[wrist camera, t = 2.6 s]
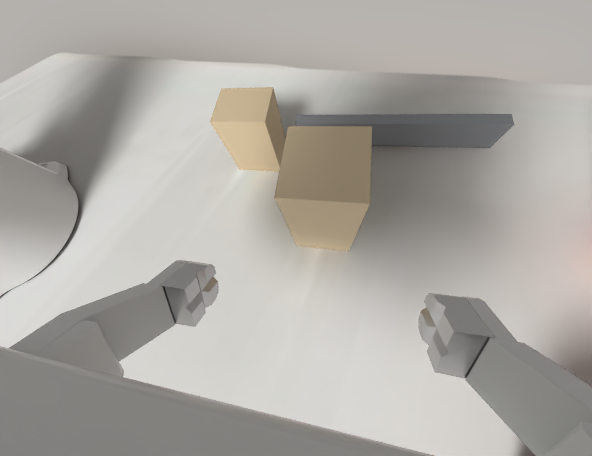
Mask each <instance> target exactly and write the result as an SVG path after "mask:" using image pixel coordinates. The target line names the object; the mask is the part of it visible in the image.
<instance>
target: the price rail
mask: <svg viewBox="0 0 592 456" xmlns="http://www.w3.org/2000/svg"><path fill="white" fill-rule="evenodd" d="M295 125H296V126H366V127H372V145H378V146H428V147H479V148H490V147H491V146H492V145H493V144H494V143H495V142H496V141H497V140H498V139H499V138H500V137H501V136H503V135H504V134H505V133H506V132H507V131H508V130H509V129H510V128H511V127H512V126H513V125H514V122H513V118H512V114H437V115H297V117H296V122H295Z"/></svg>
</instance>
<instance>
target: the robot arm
mask: <svg viewBox="0 0 592 456" xmlns="http://www.w3.org/2000/svg"><path fill="white" fill-rule="evenodd" d="M77 214H78V198H77V194H76V192H75V190H74V188H73V187H72V186H71V185H70V183H69V181H68V171H67V167H66V166H65V165H63V164H61V163H59V162H56V161H50V162H44V163H37V164H36V163H34V162H31V161H29V160H27V159H25V158H22V157H20V156H18V155H16V154H13V153H11V152H9V151H7V150H4V149H2V148H0V296H1V295H2V294H4V293H5V292H7V291H8V290H10V289H12V288H14V287H16V286H18V285H20V284H22V283H24V282H26V281H28V280H29V279H31V278H32V277H34V276H35V275H36V274H38V273H39V272H40V271H41V270H43V269H44V268H45V267H46V266H47V265H48V264H49V263H50V262H51V261H52V260H53V259H54V258H55V257H56V255H57V254H58V253H59V252H60V250H61V249H62V248H63V246H64V245H65V243H66V241H67V240H68V238H69V236H70V234H71V232H72V230H73V228H74V225H75V222H76V219H77ZM215 274H216V271H215V267H214V266H213V265H211V264H205V263H198V262H192V261H184V260H178V261H175V262H174V263H173V264H171V265H170V266H169V267H167V268H166V269H165V270H164V271H162V272H161V273H160V274H159V275H157V276H156V277H155V278H153V279H152V280H151V281H150V282H148V283H147V284H144V283H143V284H140V285H137V286H135V287H132V288H129V289H127V290H124V291H121V292H119V293H116V294H113V295H110V296H108V297H105V298H102V299H100V300H97V301H94V302H92V303H89V304H86V305H84V306H81V307H78V308H76V309H73V310H70V311H67V312H65V313H62V314H60V315H59V316H57V317H56V318H54V319H52V320H51V321H49V322H48V323H46V324H45V325H43V326H42V327H40V328H39V329H37V330H36V331H34V332H33V333H31V334H30V335H28V336H27V337H25V338H24V339H22V340H21V341H19V342H17V343H16V344H14V345H13V346H11V347H10V348H5V347H1V346H0V456H434V455H430V454H426V453H422V452H418V451H414V450H410V449H406V448H402V447H398V446H394V445H390V444H386V443H382V442H378V441H374V440H370V439H366V438H362V437H358V436H355V435H351V434H347V433H343V432H339V431H335V430H331V429H327V428H323V427H319V426H315V425H311V424H307V423H303V422H299V421H295V420H291V419H287V418H283V417H279V416H275V415H271V414H267V413H263V412H259V411H255V410H251V409H248V408H244V407H240V406H236V405H232V404H228V403H224V402H220V401H216V400H212V399H208V398H204V397H200V396H196V395H192V394H188V393H184V392H180V391H176V390H172V389H168V388H164V387H160V386H156V385H152V384H148V383H144V382H140V381H136V380H132V379H128V378H124V377H123V375H124V370H123V368H122V367H121V365H120V363H119V361H121V360H122V359H124V358H125V357H127V356H128V355H130V354H131V353H133V352H134V351H136V350H137V349H139V348H140V347H142V346H143V345H145V344H146V343H148V342H149V341H151V340H153V339H154V338H156V337H157V336H159V335H160V334H162V333H163V332H165V331H166V330H168V329H169V328H171V327H172V326H174V325H175V324H182V325H188V326H196V325H197V324H198V322H199V321H200V320H201V318H202V317H203V316H204V314H205V313H206V312H205V308H206V307H208V306H210V305H212V303H213V302H214V301H215V299H216V297H217V294H218V287H219V286H218V281H217V280H216V279H215V278H214V275H215ZM424 302H425V304H426V307H427V308H425V309H423V310H422V311H421V312H420V316H419V331H420V335H421V337H422V340H424V341H425V342H426V343H427V344H428V345H429V348H428V350H427V353H428V356H429V358H430V361H431V363H432V366H433V369H434V371H435V372H438V373H442V374H447V375H452V376H456V377H461V378H466V381H467V382H468V383H469V384H470V385H471V387H472V388H473V389H474V390H475V391H476V392H477V393H478V394H479V395H480V396H481V397H482V398H483V400H484V401H485V402H486V403H487V404H488V405H489V406H490V407H491V408H492V409H493V410H494V411H495V413H496V414H497V415H498V416H499V417H500V418H501V419H502V420H503V421H504V422H505V423H506V424H507V426H508V427H509V428H510V429H511V430H512V431H513V432H514V433H515V434H516V435H517V436H518V437H519V438H520V440H521V441H522V442H523V443H524V444H525V445H526V446H527V447H528V448H529V449H530V450H531V451H532V453H533V454H534V455H535V456H592V386H590V385H589V384H587V383H586V382H584V381H582V380H581V379H579V378H578V377H576V376H575V375H573V374H572V373H570V372H568V371H567V370H565V369H564V368H562V367H561V366H559V365H557V364H556V363H554V362H553V361H551V360H550V359H548V358H547V357H545V356H543V355H542V354H540V353H539V352H537V351H536V350H534V349H533V348H531V347H529V346H528V345H526V344H525V343H520V342H517V340H516V339H515V338H514V337H513V336H512V334H511V333H510V332H509V331H508V330H507V328H506V327H505V326H504V325H503V324H502V322H501V321H500V320H499V319H498V318H497V316H496V315H495V314H494V313H493V312H492V310H491V309H490V308H489V307H488V306H487V304H486V303H485V302H484V301H483V300H481V299H479V298H470V297H457V296H449V295H441V294H433V293H429V294H428V295H427V296H426V298H425V301H424Z"/></svg>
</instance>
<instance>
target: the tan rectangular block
mask: <svg viewBox="0 0 592 456" xmlns="http://www.w3.org/2000/svg"><path fill="white" fill-rule="evenodd" d="M371 147H372V127H366V126H288V129H287V134H286V139H285V144H284V150H283V155H282V160H281V165H280V171H279V176H278V181H277V186H276V192H275V197H274V198H275V200H276V202H277V204H278V207H279V209H280V211H281V213H282V215H283V217H284V219H285V222H286V224H287V226H288V228H289V230H290V232H291V234H292V236H293V239H294V241H295V243H296V245H297V246H302V247H312V248H322V249H332V250H342V251H349V250H350V248H351V245H352V243H353V241H354V239H355V236H356V234H357V232H358V230H359V228H360V225H361V223H362V221H363V219H364V216H365V214H366V212H367V210H368V207H369V205H370V188H371Z"/></svg>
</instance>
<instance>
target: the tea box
mask: <svg viewBox="0 0 592 456" xmlns="http://www.w3.org/2000/svg"><path fill="white" fill-rule="evenodd" d="M210 123H211V124H212V126H213V128H214V129H215V131H216V132H217V134H218V136H219V137H220V139H221V140H222V142H223V143H224V145H225V147H226V148H227V150H228V151H229V153H230V155H231V156H232V158H233V159H234V161H235V163H236V164H237V166H238V167H239V169H240V170H256V171H280V165H281V160H282V155H283V150H284V144H285V135H284V131H283V127H282V123H281V118H280V114H279V110H278V106H277V102H276V97H275V93H274V89H273V87H266V88H228V89H221V91H220V94H219V97H218V100H217V103H216V106H215V109H214V111H213V114H212V117H211V120H210Z"/></svg>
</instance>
